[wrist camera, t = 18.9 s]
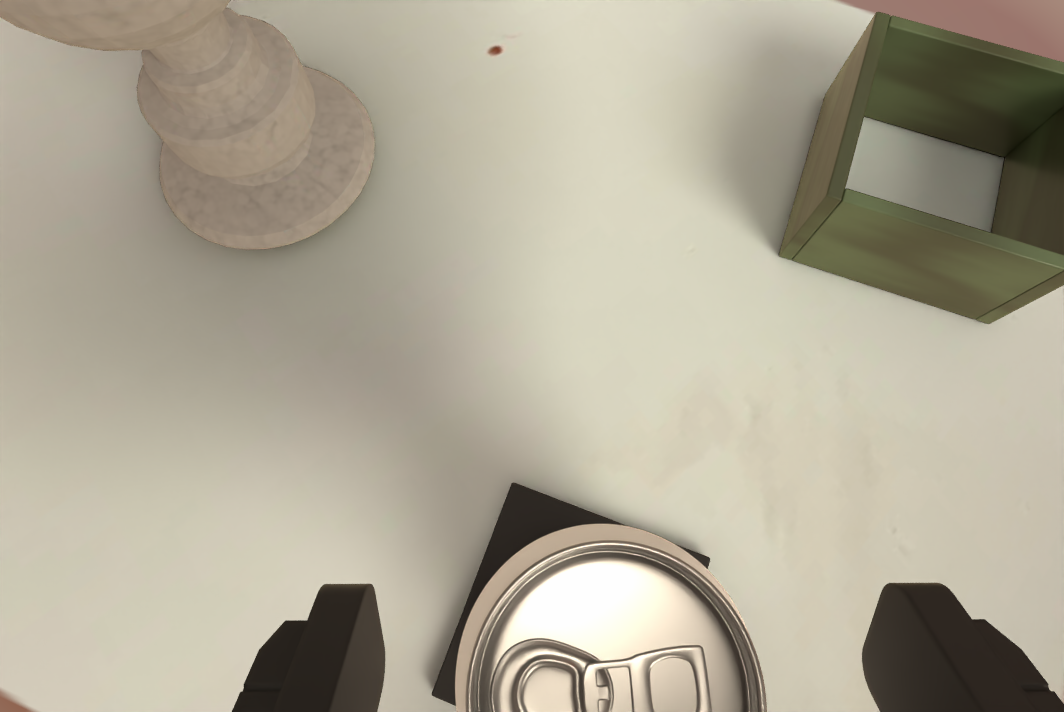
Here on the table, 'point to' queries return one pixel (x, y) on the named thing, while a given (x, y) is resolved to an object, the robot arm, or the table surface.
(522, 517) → the mat
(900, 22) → the caddy
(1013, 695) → the robot arm
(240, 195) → the table lamp
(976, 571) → the table surface
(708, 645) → the can
